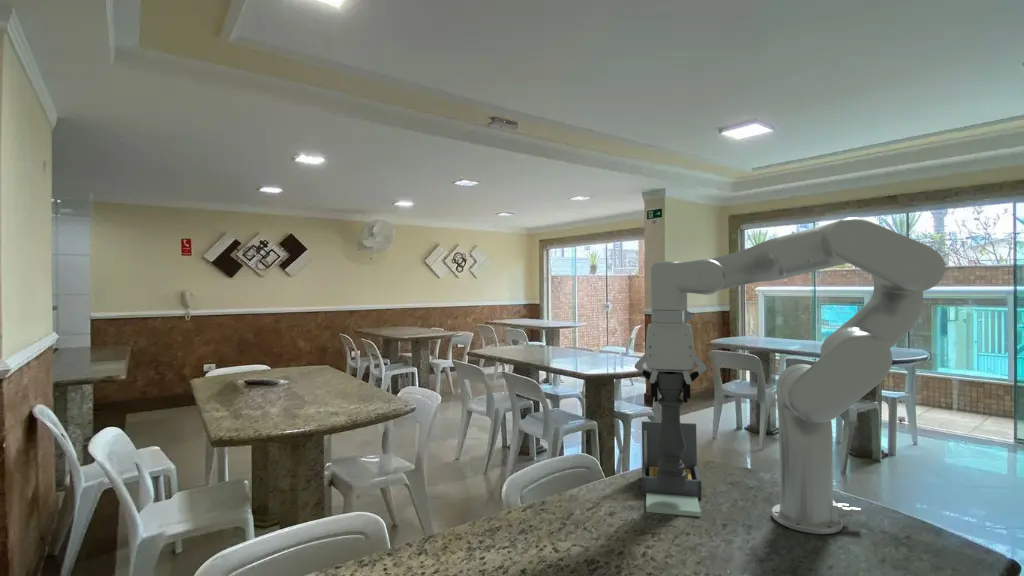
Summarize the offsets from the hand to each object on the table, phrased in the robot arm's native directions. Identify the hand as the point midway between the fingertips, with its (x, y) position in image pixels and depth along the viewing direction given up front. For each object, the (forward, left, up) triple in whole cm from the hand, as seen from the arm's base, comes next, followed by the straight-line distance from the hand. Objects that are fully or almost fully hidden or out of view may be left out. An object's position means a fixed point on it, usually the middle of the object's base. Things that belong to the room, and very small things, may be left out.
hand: (670, 400), depth 116 cm
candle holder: (0, 0, -19) cm, 19 cm away
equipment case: (0, -11, -23) cm, 26 cm away
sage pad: (0, 0, -23) cm, 23 cm away
